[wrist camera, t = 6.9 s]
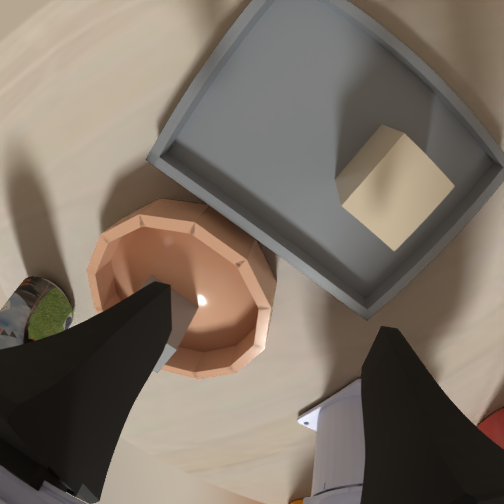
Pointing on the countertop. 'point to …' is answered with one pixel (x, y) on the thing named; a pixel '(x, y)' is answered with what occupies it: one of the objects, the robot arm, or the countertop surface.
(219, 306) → the bowl
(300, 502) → the beer bottle
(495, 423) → the flower pot
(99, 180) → the countertop surface
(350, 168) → the cream wooden cube
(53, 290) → the beverage can
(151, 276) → the grey sharp-edged cube
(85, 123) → the countertop surface
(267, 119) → the tray
